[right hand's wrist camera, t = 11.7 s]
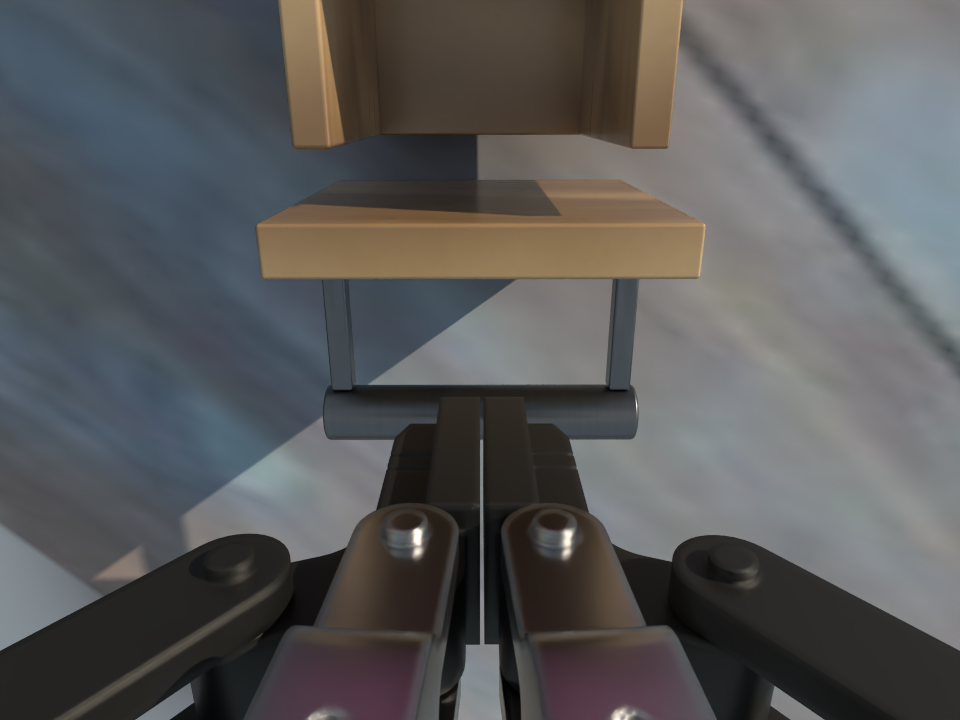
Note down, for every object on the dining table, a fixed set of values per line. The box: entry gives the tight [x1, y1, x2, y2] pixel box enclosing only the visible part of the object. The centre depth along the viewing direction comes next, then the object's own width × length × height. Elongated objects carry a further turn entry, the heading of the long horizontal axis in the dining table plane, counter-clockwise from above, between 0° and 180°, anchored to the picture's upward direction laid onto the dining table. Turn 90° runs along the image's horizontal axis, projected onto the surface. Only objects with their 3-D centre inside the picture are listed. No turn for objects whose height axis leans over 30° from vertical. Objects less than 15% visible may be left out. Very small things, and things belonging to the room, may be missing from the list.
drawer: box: [255, 0, 706, 440], centre depth 17 cm, size 20×9×9 cm, turn 0°
